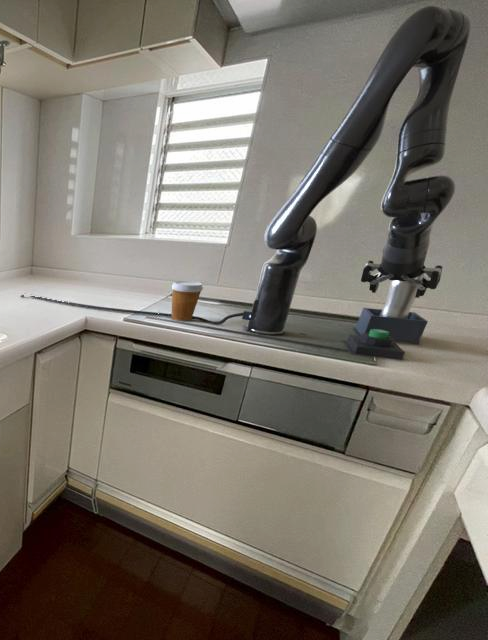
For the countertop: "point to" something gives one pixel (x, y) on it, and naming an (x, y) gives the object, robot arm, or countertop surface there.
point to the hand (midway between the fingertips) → (395, 292)
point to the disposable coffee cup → (184, 299)
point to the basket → (393, 325)
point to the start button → (378, 333)
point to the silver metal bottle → (399, 299)
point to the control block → (375, 346)
